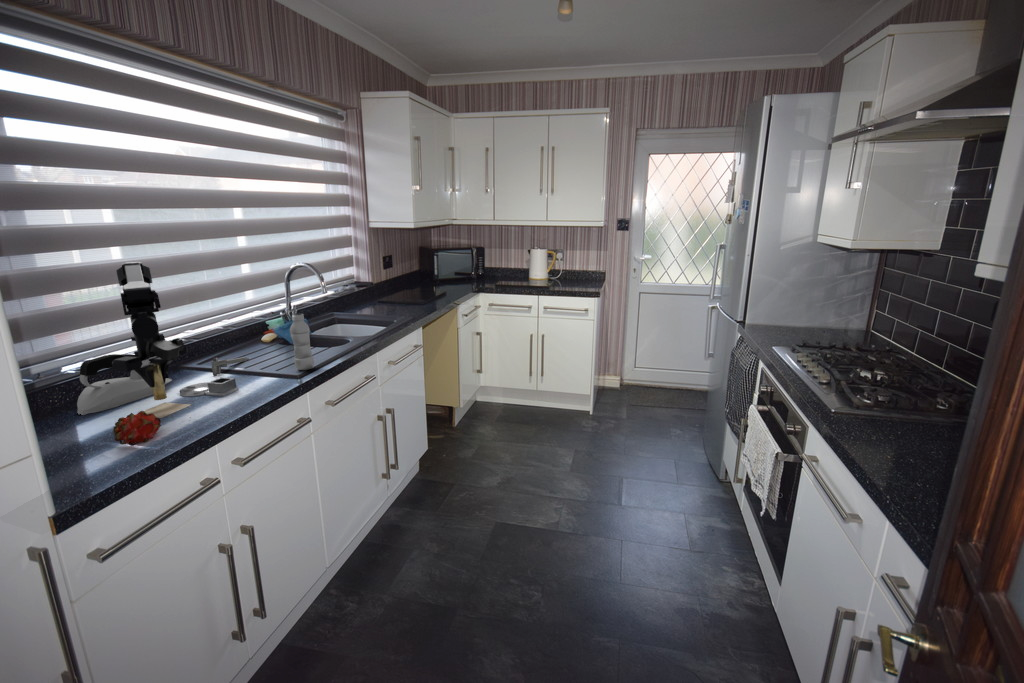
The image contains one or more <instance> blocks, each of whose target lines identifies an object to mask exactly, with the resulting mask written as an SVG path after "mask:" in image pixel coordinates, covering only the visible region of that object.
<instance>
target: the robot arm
mask: <svg viewBox="0 0 1024 683" xmlns="http://www.w3.org/2000/svg"><path fill="white" fill-rule="evenodd" d="M115 273H116V276H117V280H118V284H119V286H120V287H122V291H123V292H120V293H119V294H120V299H121V303H122V308H123V309H122V310H123V313H124V316H130V318H129V320H130V323H131V331H132V333H133V336H131V337H130V338H131V339H130V340H131V342H135V346H136V349H137V350H135V351H133V352H134V355H137V356H138V357H128V356H125V357H122V358H118V359H115V360H113V362H112V368H111V369H112V371H118V372H131V371H132V370H135V371H136V372H137V373H138V374H139V375H140V376H141V377H142V378H143V379H144V380H145V382H146V383H147V384H148V385H149V386H150V387H152V388H153V387H154V379H153V374H152V368H153V366H154V365H150V364H156V363H158V364H160V367H161V372H162V377H163V381H164V383H165V381H166V378H167V379H172V381H173V380H174V379H173V378H172V377H171V378H170V377H169V373H168V370H169V366H170V365H171V363H172V362H173V361H174V360H176V358H178V357H180V356H182V355H184V354H187V353H189V352H188V346H186V344H185V343H184V341H183V339H182V338H180V337H177V338H173V339H170V340H166V339H165V335H164V334H163V333H160V332H159V324H158V321H157V316H156V313H157V312H160V309H161V307H162V306H161V302H160V299H159V298H160V297H159V294H158V293H157V292H156V290H155V289H152V288H151V287H152V286H151V284H153V278H152V273H151V269H150V267H148V266H146V265H144V264H143V262H140V261H134V262H131V261H129V262H123V263H121V266H120V267H119V268H117V269H116V272H115ZM149 361H151V362H149Z"/></svg>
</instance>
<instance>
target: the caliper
mask: <svg viewBox="0 0 1024 683" xmlns="http://www.w3.org/2000/svg"><path fill="white" fill-rule="evenodd" d="M247 360H250V358H248V357H247V356H244V357H238V358H233V359H232V358H231V359H219V358H218V357H214V358H212V361H211V371H212V375H213V376H217V375H220V374H221V369H222V368H228V365H231V364H236V363H242V362H246V361H247Z"/></svg>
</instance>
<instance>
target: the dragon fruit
mask: <svg viewBox="0 0 1024 683" xmlns="http://www.w3.org/2000/svg"><path fill="white" fill-rule="evenodd" d="M144 411H145V410H139V412H137V413H136V415H135V413H132V412H131V413H130V414H128V415H126V417H123V416H122V417H119V418H118V420H117V421H116V422H114V426H113V427H112V430H113V431H112V432H113V435H114V441H115V442H119V444H120V445H122V446H123V445H130V446H131V447H133V446H135V444H136V443H140V444H141V443H148V442H149V439H153V438H154V436H155V434H156V435H157V432H158V431H159V430H160V427H162V425H161V423H162V420H161V418H157V417H156V416H155V415H154V414H153V413H151V414H146V413H145V412H144ZM122 441H123V442H122Z"/></svg>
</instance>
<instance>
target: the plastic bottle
mask: <svg viewBox="0 0 1024 683" xmlns="http://www.w3.org/2000/svg"><path fill="white" fill-rule="evenodd" d="M304 315H305V314H303V313H295V314H292V316H291V317H292V319H291V320H292V321H293V322H292V323H291V325H290V326H289V334H290V337H291V341H292V344H293V350H294V352H293V353H294V361H293V362H294V367H295V368H296V370H298V371H308V370H311V369H314V367H315V359H314V356H313V352H312V348H311V341H310V340H311V339H310V337H311V336H310V333H311V332H310V330H311V329H310V327H309V325H308V323H306V322H305V317H304Z"/></svg>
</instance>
